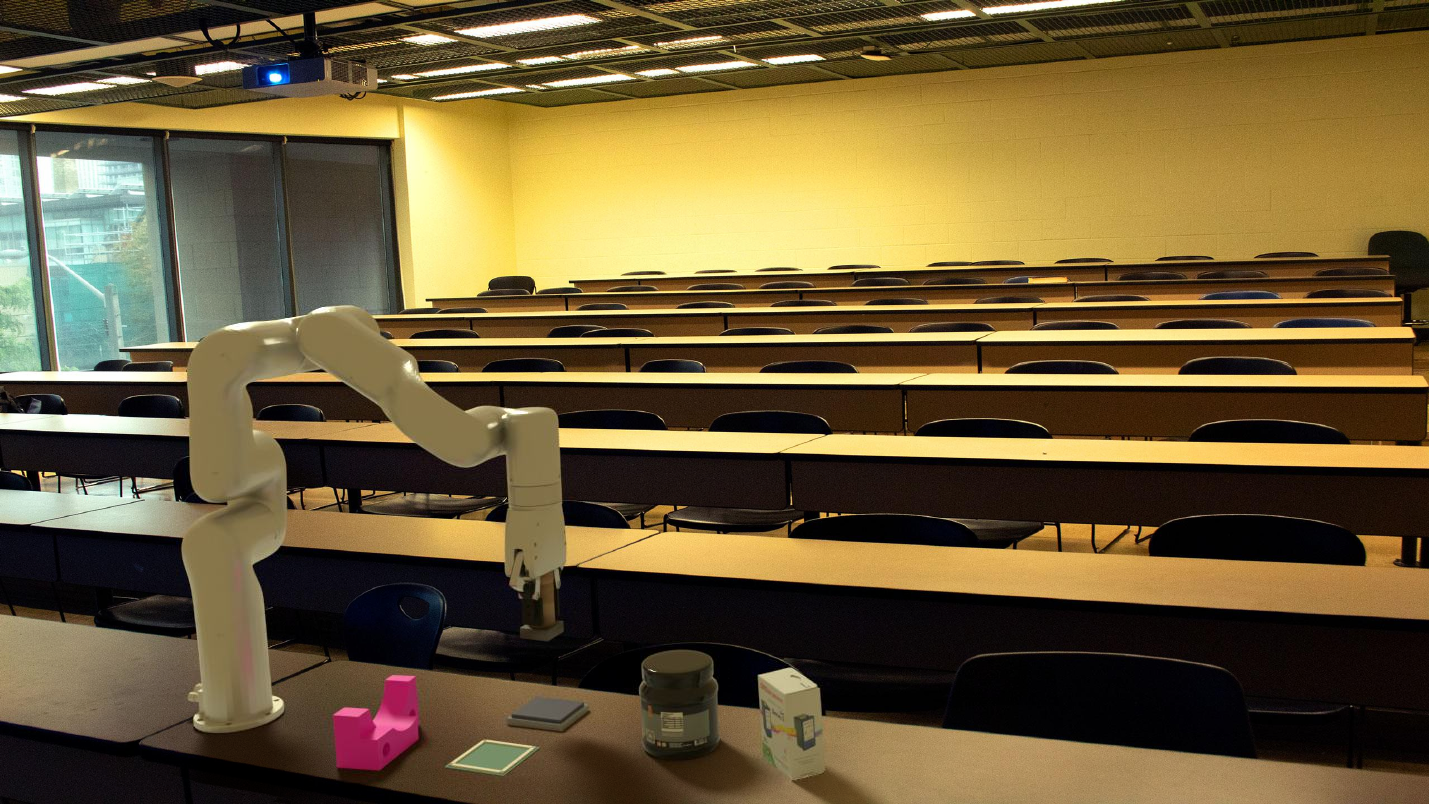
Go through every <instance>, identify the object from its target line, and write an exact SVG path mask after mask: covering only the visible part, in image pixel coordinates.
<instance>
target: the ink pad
mask: <svg viewBox="0 0 1429 804" xmlns="http://www.w3.org/2000/svg"><path fill="white" fill-rule="evenodd" d="M589 711H590V705H589V704H587V703H585V702H584V701H578V700H570V699H563V698H554V697H544V696H537V695H536V696H535V697H534V698H532V699H530V701H528V702H527V703H525V704H523V705H521V707H519V708H518V709H515V710H514V711H513V712H512V713H511V714H510V715H509V716H508V717H506V725H507V726H515V727H522V728H531V729H539V730H547V731H555V732H563V731H565V730H566V729H567V728H568V727H570V726H571V725H572V724H573V723H574V724H575V722H576V721H578V720H579V719H580V718H581V717H583V716H584V715H585V714H586V713H588V712H589Z"/></svg>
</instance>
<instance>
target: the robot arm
mask: <svg viewBox="0 0 1429 804" xmlns="http://www.w3.org/2000/svg"><path fill="white" fill-rule="evenodd" d="M317 370H323V371H325V372H326V373H328V374H329V375H331V376H332V377H334V378H336V379H338V381H339V380H340V381H341V382H342V383H344V384H345V385H347V386H349V387H350V388H352V389H354V390H355V391H356V392H358V393H360V394H361V395H362V396H364V397H365V398H367V399H369V400H370V401H371V402H373V403H375V404H376V405H377V406H379V407H380V408H381V410H382V412H383V413H384V414H385V416H386V417H387V418H388V420H390V421H391V422H392V424H393V425H394V426H395V427H396V428H397V429H398V430H399V431H400V432H401V433H402V434H403V435H404V436H406V438H408V439H409V440H411V441H412V442H414V443H415V444H417V445H418V446H420V447H421V448H423V449H424V450H426V451H427V452H428V453H430V454H432V455H434V456H435V457H436V458H438V459H440V460H441V461H444V462H446V463H447V464H450V465H451V466H452V465H453V466H454V467H455V466H456V467H459V468H471V467H476V466H477V465H480V464H482V463H484V462H486V461H488V460H491V459H493V458H496V457H498V456H503V455H505V459H506V461H505V462H506V479H507V481H506V482H507V496H508V497H507V498H508V508H507V511H506V517H505V518H506V519H505V527H504V572H505V575H506V577H509V578H510V580H509V584H508V585H509V586H510V588H513V590H515V591H516V592H517V593H518V598H519V599H520V602H521V603H520V605H521V619H522V620H521V621H522V625H523V626H524V625H531V626H542V625H543V624H544V620H543V600H542V598H539V596H540V577H541V576H543V575H545V574H546V573H548V572H550V571H553V574H554V579H553V587H554V610H555V618H556V617H559V616H560V615H561V613H560V612H561V611H560V608H561V607H560V593H559V591H560V590H559V589H560V587H561V579H560V578H561V575H562V571H563V569H564V567H565V565H566V563H567V534H566V525H565V517H564V516H565V515H564V512H563V507H562V506H563V505H562V504H563V497H562V496H563V493H562V491H563V490H562V476H561V475H562V473H561V450H560V448H561V447H560V435H559V434H560V429H559V417H558V415H557V412H556V411H555V410H554V409H553V408H549V407H543V406H542V407H541V406H535V407H533V406H531V407H520V408H508V407H501V406H493V405H481V406H476V407H473V408H471V409H468V410H463V409H462V408H460V407H458V406H456V405H455V404H453V403H451V402H449V401H448V400H447V399H445V398H444V397H443V396H441V395H440V394H438V393H437V392H435V391H434V390H433V389H432V388H430V386H428V384H427V383H425V381H424V380H423V379H422V376H421V375H420V370H419V364H418V362H417V359H416V358H415V357H414V355H413V354H411V353H409V352H408V351H406V350H404V349H403V348H401V347H400V346H398V345H397V344H395V343H393V342H392V341H390V340H389V339H387V338H386V337H384V336H383V335H381V330H380V326H379V324H378V322H377V321H376V319H375V318H374V317H373V316H372V314H370V313H369V312H368V311H367V310H365V309H363V308H361V307H360V306H359V307H358V306H355V305H348V304H347V305H336V306H324V307H320V308H317V309H314V310H312V311H310V312H308V314H305V315H300V316H299V315H298V316H295V317H289V318H282V319H277V320H276V319H275V320H273V319H272V320H267V321H265V320H264V321H248V322H241V323H235V324H231V325H226V326H224V327H221V328H218V329H216V330H214V331H212V332H211V333H209V334H208V335H206V336H204V337H203V338H202V339H201V340H200V341H199V342H198V343H197V344H196V345H195V347H194V348H193V349H192V351H191V353H190V356H189V358H188V361H187V367H186V384H187V395H188V405H189V406H188V407H189V408H188V409H189V410H188V411H189V425H188V427H189V428H188V429H189V430H188V431H189V432H188V434H189V437H188V438H189V475H190V482H191V486H192V489H193V491H194V492H195V494H196V495H198V497H199V498H200V499H202V500H203V501H206V502H208V503H216V504H217V503H218V504H219V503H220V504H221V503H226V504H227V506H225V507H222V508H219V509H216V510H214V511H212V512H209V513H207V514H205V515H203V516H201V517H199V518H198V519H197V520H195V521H194V522H193V523H192V524H191V525H190V526H189V527H188V528H187V530H186V532H185V533H184V536H183V538H182V542H181V557H182V561H183V565H184V568H185V571H186V575H187V577H188V582H189V584H190V590H191V596H192V604H193V611H194V622H195V629H196V639H197V641H196V642H197V649H198V660H199V661H198V662H199V671H200V673H199V674H200V681H201V683H200V682H199V683H197V684H196V685H194V687H193V691H191V692H189V693H188V695H187V700H188V701H189V702H193V703H198V708H199V710H198V711H197V712H196V713H195V714H194V716H193V717H192V718H193V719H192V721H193V726H194V727H195V729H197V730H198V731H201V732H203V733H209V734H227V733H229V734H230V733H236V732H241V731H247V730H251V729H253V728H257V727H261V726H263V725H266V724H268V723H271V722H273V721H274V720H276V719H278V718H279V717H280V716H281V715H283V713H284V712H285V702H284V700H283V699H282V698H280V697H278V696H275V695H273V692H272V691H273V690H272V679H271V670H270V658H269V657H270V656H269V648H268V636H267V635H268V633H267V623H266V613H265V603H264V596H263V594H264V593H263V591H262V587H261V585H260V582H259V580H258V577H257V575H256V573H255V571H254V568H253V565H254V564H256V563H258V562H260V561H261V560H264V559H265V558H268V557H269V556H271V555H273V554H274V553H275V552H277V551H278V550H279V548H280V547H281V545H282V544H283V542H284V539H285V537H286V533H287V526H288V525H287V524H288V523H287V522H288V521H287V520H288V516H287V515H288V513H287V512H288V506H287V504H288V502H287V501H288V499H287V493H288V492H287V486H288V485H287V484H288V483H287V482H288V481H287V463H286V458H285V455H284V451H283V449H282V448H281V446H280V444H279V443H278V442H277V440H276V439H275V438H274V437H272V435H270V434H268V433H266V432H265V431H262V430H258V429H257V430H256V429H254V426H253V422H254V421H253V420H254V411H253V404H252V401H251V397H250V395H249V393H248V390H247V385H248V384H250V383H253V382H257V381H263V380H271V379H275V378H280V377H286V376H292V375H296V374H301V373H306V372H312V371H317ZM526 572H529V576H526ZM527 581H533V584H532V587H531V585H530V584H529V583H527Z"/></svg>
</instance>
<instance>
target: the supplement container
mask: <svg viewBox="0 0 1429 804" xmlns="http://www.w3.org/2000/svg"><path fill="white" fill-rule="evenodd" d="M713 675H714V660H713V658H712V657H711V656H710V655H709V654H707V653H704V652H702V651H697V650H691V649H673V650H666V651H661V652H657V653H653V654H651V655H649V656H647V657H646V658H645V659H644V660H643V661H642V663H641V676H642V677H641V678H642V681H641V683H640V685H639V687H638V692H639V693H638V694H639V697H640V713H641V715H640V716H641V735H642V736H641V745H642V746H643V749H644V750H645V751H646V752H647V753H648V754H649V755H650V756H652V757H654V758H657V759H661V760H667V761H686V760H693V759H697V758H700V757H703V756H706V755H708V754H709V753H712V752H713V751H714V750H715V749H717V747H718V746H719V743H720V731H719V730H720V729H719V708H718V707H719V706H718V691H719V684H718V682H717V679H715V678H714V677H713Z"/></svg>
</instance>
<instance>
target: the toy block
mask: <svg viewBox="0 0 1429 804" xmlns="http://www.w3.org/2000/svg"><path fill="white" fill-rule="evenodd" d="M417 686H418V685H417V676H416V675H397V674H392V675H391V676H389V677H387V678H386V679H385V680H384V692H383V695H382V696H383V697H382V699H381V704H380V707H379V709H378V711H377V713H376V715H375V717H374V718H372V715H371V711H370V710H371V709H370V708H362V707H361V708H358V707H343V708H341V709H340V710H338V711H337V712H336V713H334V714H332V719H333V721H332V722H333V731H334V743H335V756H336V757H335V758H336V767H337V769H352V770H353V769H354V770H367V771H368V770H369V771H381V770H382V769H383V768H384V767H386V766H387V765H388V764H390V763H391V762H392V761H393V760H394V759H396V758H397V757H398V756H399V755H400V754H402V753H403V752H405V751H406V750H407V749H408V748H409V747H410V746H412V745H413V744H414V743H416V742H417V741H418V740H419V738H420V737H419V726H420V716H419V701H418V687H417Z"/></svg>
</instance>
